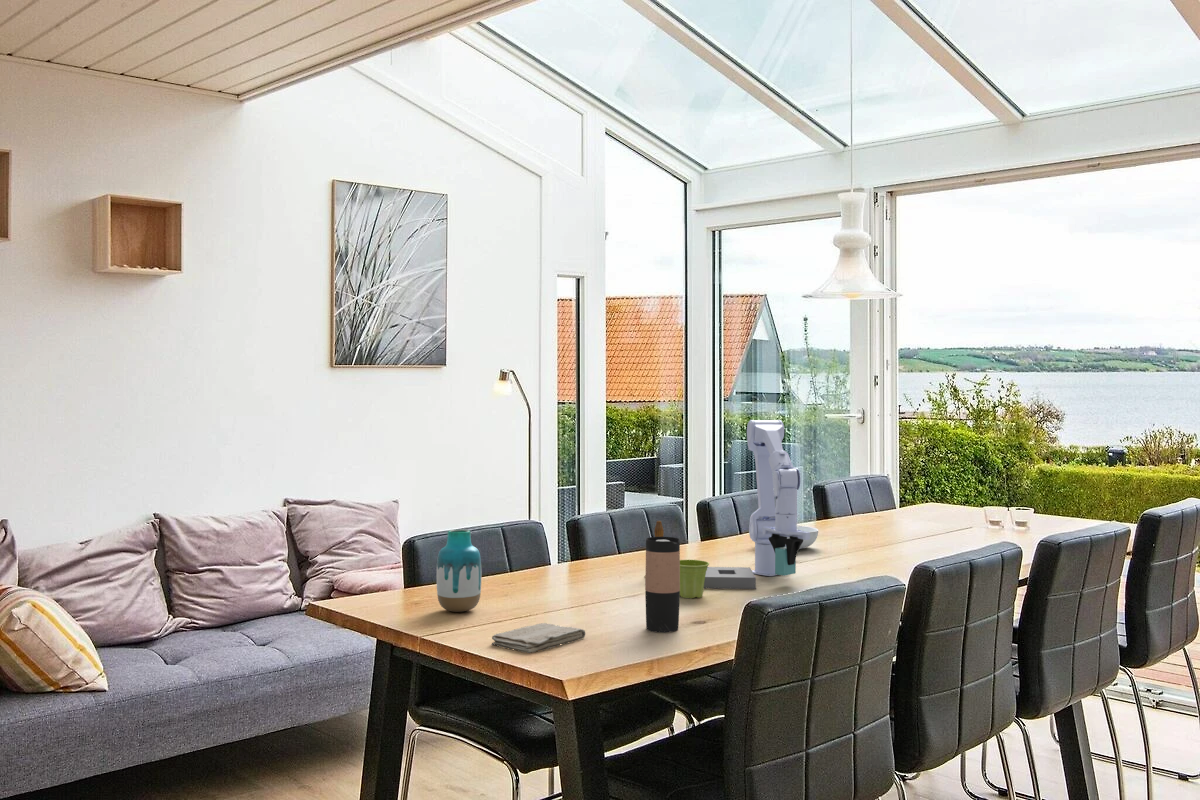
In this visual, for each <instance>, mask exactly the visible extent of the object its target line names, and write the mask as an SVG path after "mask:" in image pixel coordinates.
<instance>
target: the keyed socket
mask: <svg viewBox="0 0 1200 800" xmlns="http://www.w3.org/2000/svg"><path fill="white" fill-rule="evenodd" d="M752 570H753V569H751V567H750V566H749V567H746V566H745V567H744V566H742V567H741V566H740V567H739V566H736V567H734V566H732V567H731V566H708V567H707V571H706V575H705V581H704V588H703V589H726V590H727V589H728V590H729V589H731V590H732V589H739V590H741V589H742V590H743V589H745V590H747V589H748V590H756V588H757V587H756V583H757V582H756V580H757V578H756V574H753V572H752Z"/></svg>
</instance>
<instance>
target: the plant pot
mask: <svg viewBox="0 0 1200 800" xmlns="http://www.w3.org/2000/svg"><path fill="white" fill-rule="evenodd" d="M709 566H710V562H709V561H705V560H699V559H680V597H681V598H684V599H694V598H700V599H701V598H702V597H703V593H704V589H705V588H704V581H705V575H706V571H707V567H709Z"/></svg>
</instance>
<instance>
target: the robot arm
mask: <svg viewBox="0 0 1200 800" xmlns="http://www.w3.org/2000/svg"><path fill="white" fill-rule="evenodd" d="M784 437H785V424H784V423H783V421H782V420H781V419H776V420H773V419H771V420H768V419H766V420H762V419H761V420H759V419H758V420H757V419H755V420H753V419H750V420H749V421H748V422H747V427H746V440H747V447H748V448H747V449H748V450H749V451H751V452H752V453H753V456H754V461H755V475H756V476H755V477H756V478H755V479H756V489H757V504H758V508H757V509H756V510H755V511H753V512H752V513H751V515H750V517H749V524H748V525H749V526H748V534H749V538H750V540H752V542H754V569H751V570H752V572H753V574H754V575H759V576H766V577H774V576H778V575H777V574H775V548H780V547H785V546H786V548H787V563H788V565H793V564H794V563H795V559H796V560H797V555H798V552H799V550H800V549H799V548H800V546H801V544H802V543H803V540H809V539H810V532H806V531H802V530H797V525H798V523H797V522H798V490H799V489H800V486H801V473H800V470H799V468H798V467H796V466H794V465H793V463H792V460H791V458H790V455H789V453H788V452H787V451H786V450H784V448H783V444H782V443H783V439H784ZM787 534H790V535H787ZM793 535H794V536H793ZM787 537H790V538H788V539H787ZM785 544H786V545H785Z"/></svg>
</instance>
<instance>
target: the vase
mask: <svg viewBox="0 0 1200 800" xmlns="http://www.w3.org/2000/svg"><path fill="white" fill-rule="evenodd" d="M471 535H472V534H471V530H468V529H449V530H448V531H447V540H446V544H445V546H444V547H441V549H440V550H439V551H438V554H437V559H436V596H437V599H438V603H439V605H440V606H441V607H442V608H443V609H444V610H447V611H449V612H453V613H454V612H456V613H461V612H467V611H471V610H473V609H475V608H476V607H477V605H478V604H479V602H480V598H481V593H482V560H481V559H482V558H481V557H482V556H481V553H480V551H479V549H478V548H477V547H475V546H474V545H473V544H472V537H471Z"/></svg>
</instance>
